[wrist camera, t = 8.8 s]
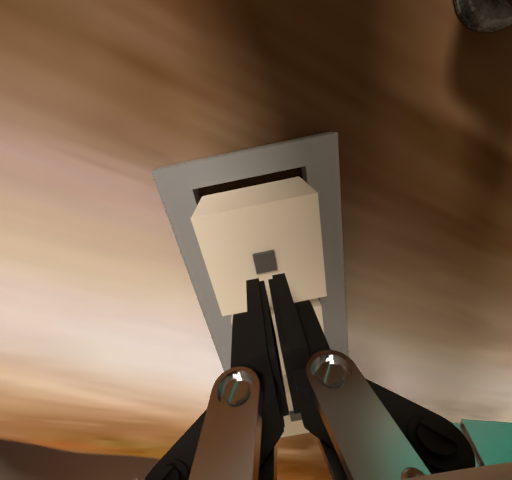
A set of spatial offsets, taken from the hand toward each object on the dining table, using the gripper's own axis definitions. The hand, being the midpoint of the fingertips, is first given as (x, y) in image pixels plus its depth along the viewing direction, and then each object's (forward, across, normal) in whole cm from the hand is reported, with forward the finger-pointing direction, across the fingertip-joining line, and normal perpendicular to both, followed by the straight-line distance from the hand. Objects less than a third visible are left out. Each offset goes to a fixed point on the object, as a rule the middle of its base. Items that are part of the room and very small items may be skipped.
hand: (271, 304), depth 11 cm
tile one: (+7, 0, -1) cm, 7 cm away
